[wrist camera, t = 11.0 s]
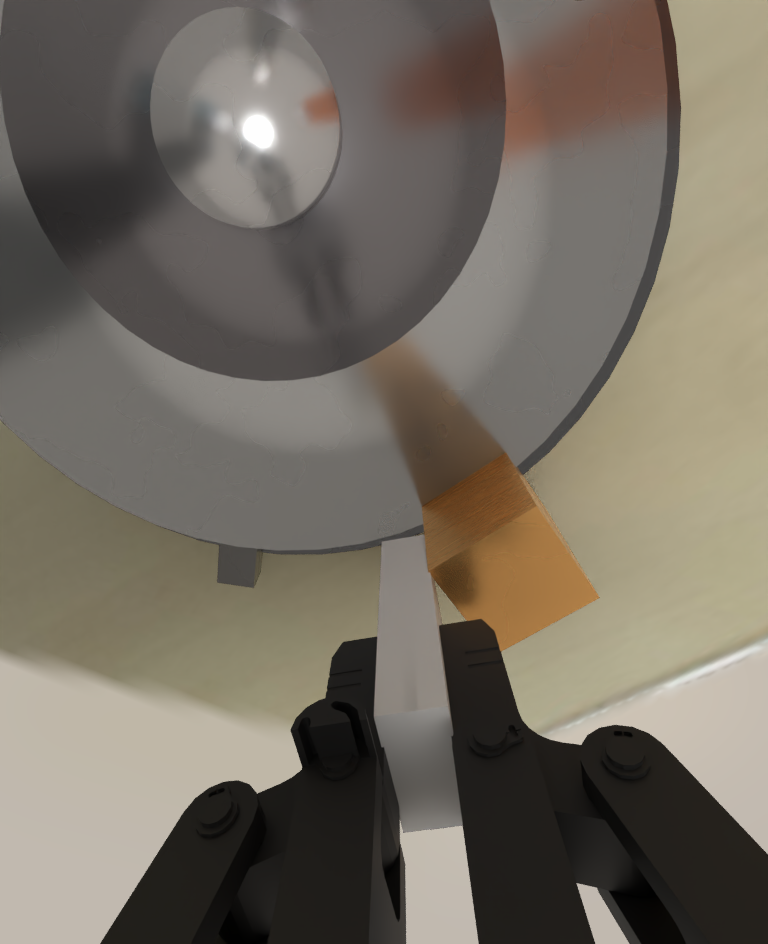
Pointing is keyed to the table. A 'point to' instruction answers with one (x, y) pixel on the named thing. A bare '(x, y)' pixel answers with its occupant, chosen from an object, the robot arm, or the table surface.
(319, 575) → the table surface
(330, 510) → the platter
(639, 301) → the turntable base
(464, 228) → the cover
